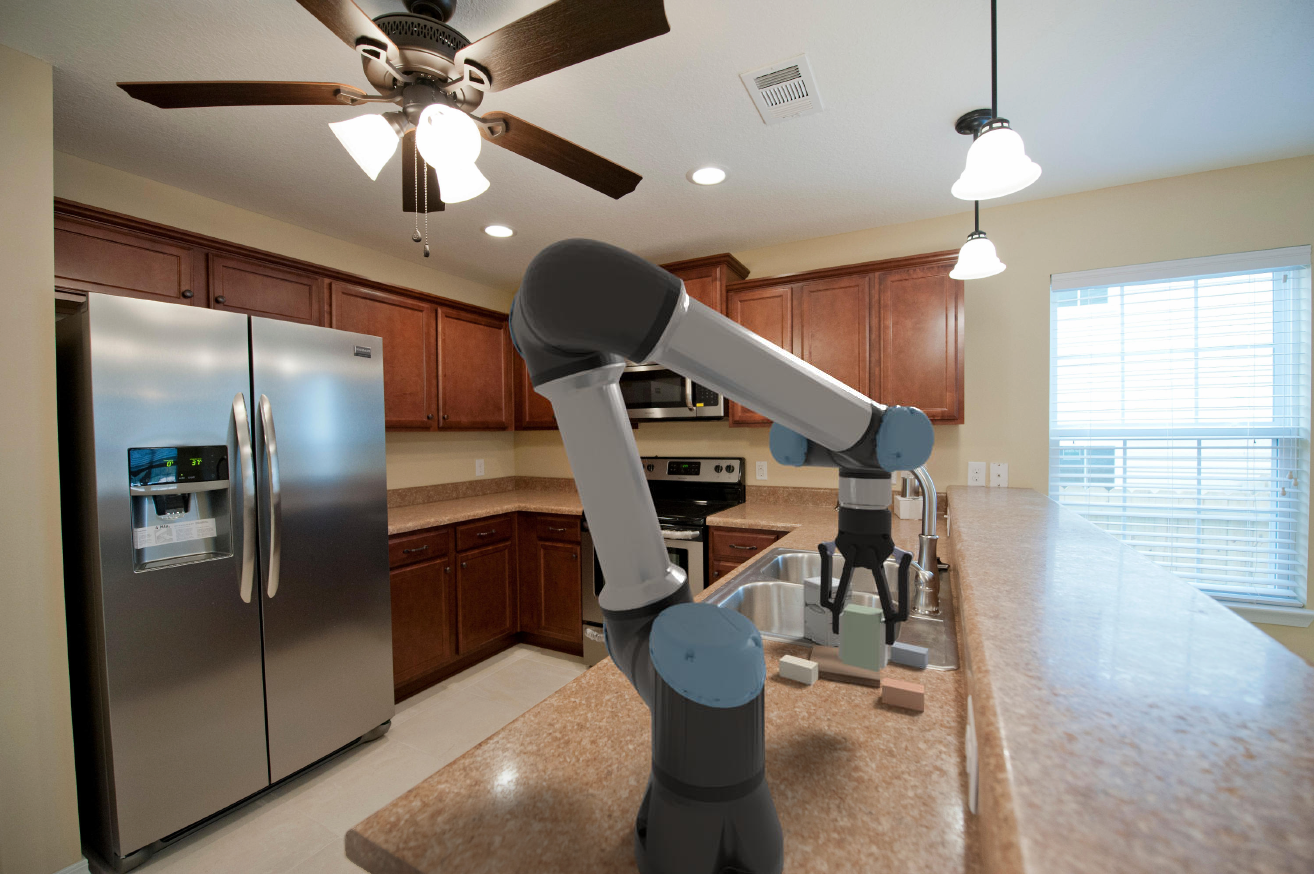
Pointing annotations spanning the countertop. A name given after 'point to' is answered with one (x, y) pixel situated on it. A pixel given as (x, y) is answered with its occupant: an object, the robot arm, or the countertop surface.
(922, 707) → the terracotta brick
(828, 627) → the supplement box
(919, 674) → the countertop surface
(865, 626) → the sage brick
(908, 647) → the slate brick
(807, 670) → the cream brick
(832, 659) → the walnut board
